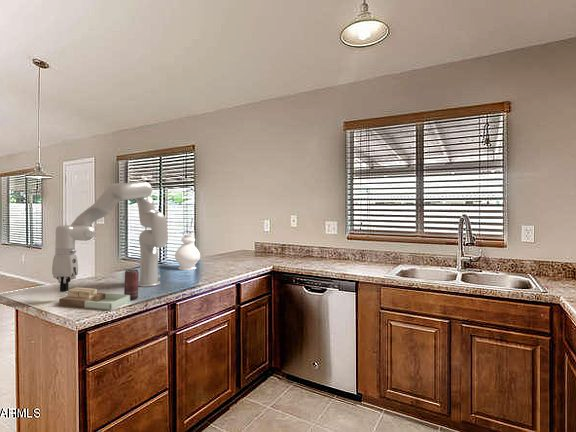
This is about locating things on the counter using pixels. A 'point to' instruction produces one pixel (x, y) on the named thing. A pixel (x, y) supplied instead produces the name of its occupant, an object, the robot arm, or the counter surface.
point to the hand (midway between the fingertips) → (64, 291)
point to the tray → (108, 302)
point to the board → (79, 300)
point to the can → (131, 284)
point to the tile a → (74, 292)
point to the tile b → (87, 293)
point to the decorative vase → (187, 253)
